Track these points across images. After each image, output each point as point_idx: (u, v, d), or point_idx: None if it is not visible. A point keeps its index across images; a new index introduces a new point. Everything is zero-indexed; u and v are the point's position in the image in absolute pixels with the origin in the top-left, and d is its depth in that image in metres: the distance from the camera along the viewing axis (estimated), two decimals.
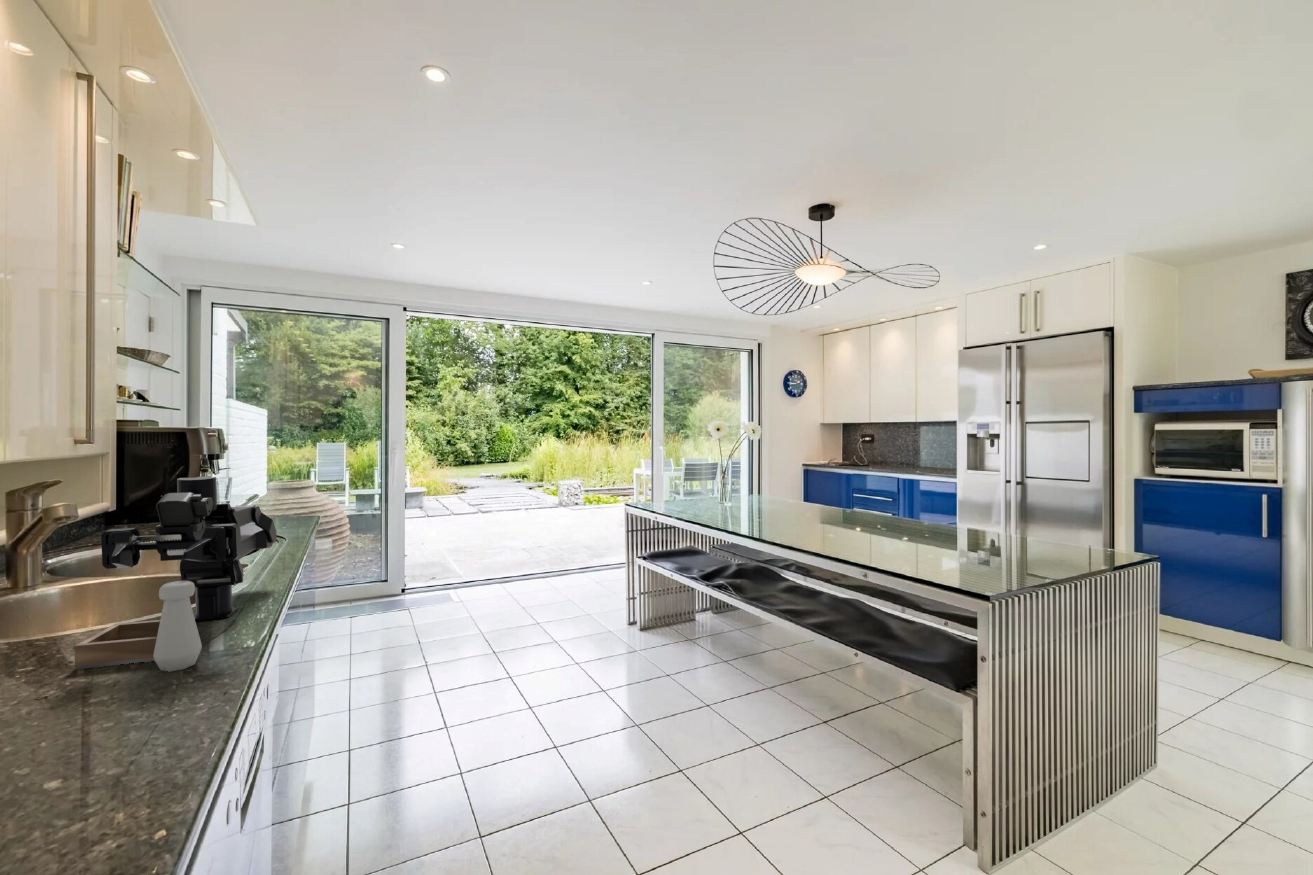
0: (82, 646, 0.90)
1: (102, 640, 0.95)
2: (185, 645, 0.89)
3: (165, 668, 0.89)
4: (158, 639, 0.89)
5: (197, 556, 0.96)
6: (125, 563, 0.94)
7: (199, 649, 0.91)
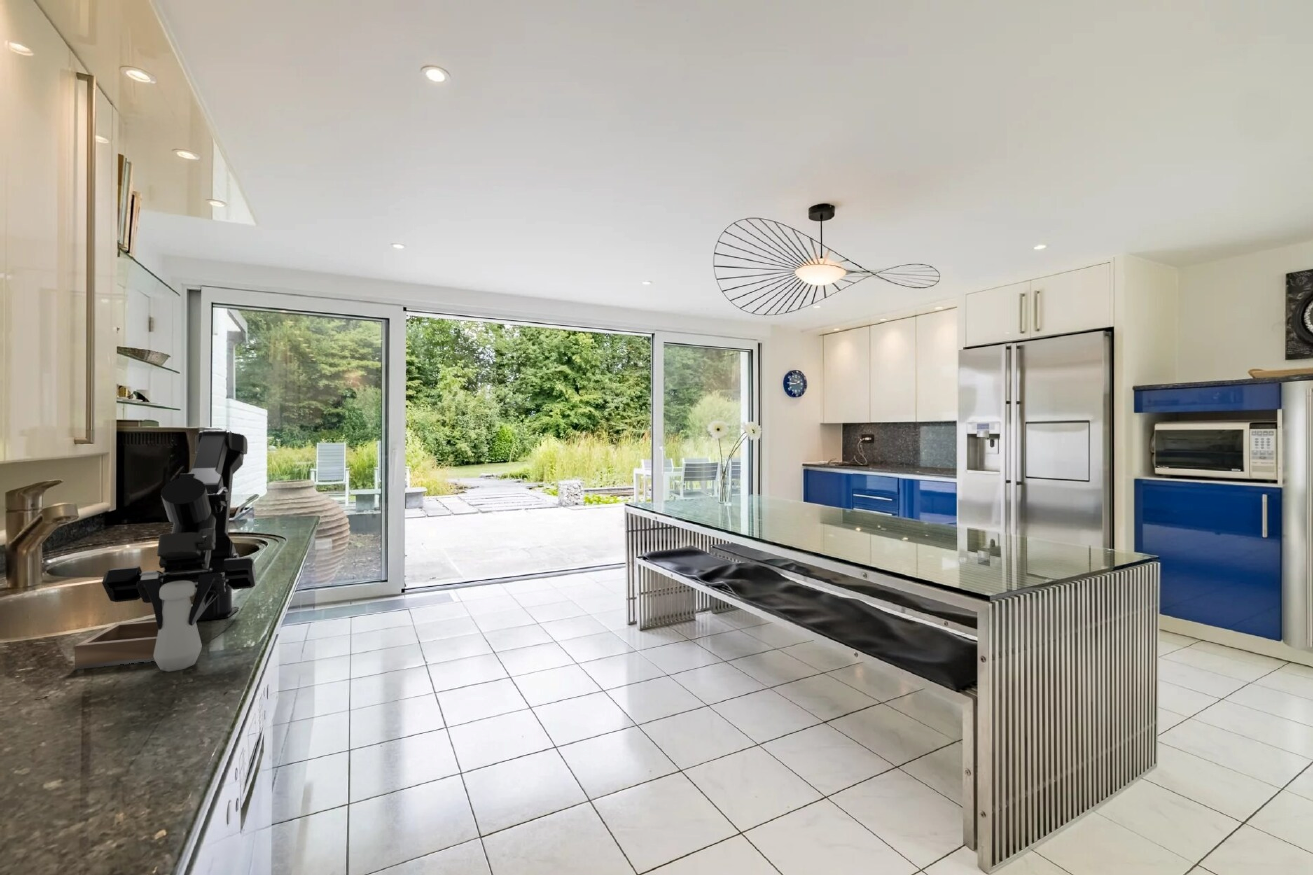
0: (82, 646, 0.90)
1: (102, 640, 0.95)
2: (185, 645, 0.89)
3: (165, 668, 0.89)
4: (158, 639, 0.89)
5: (200, 611, 0.93)
6: None
7: (199, 649, 0.91)
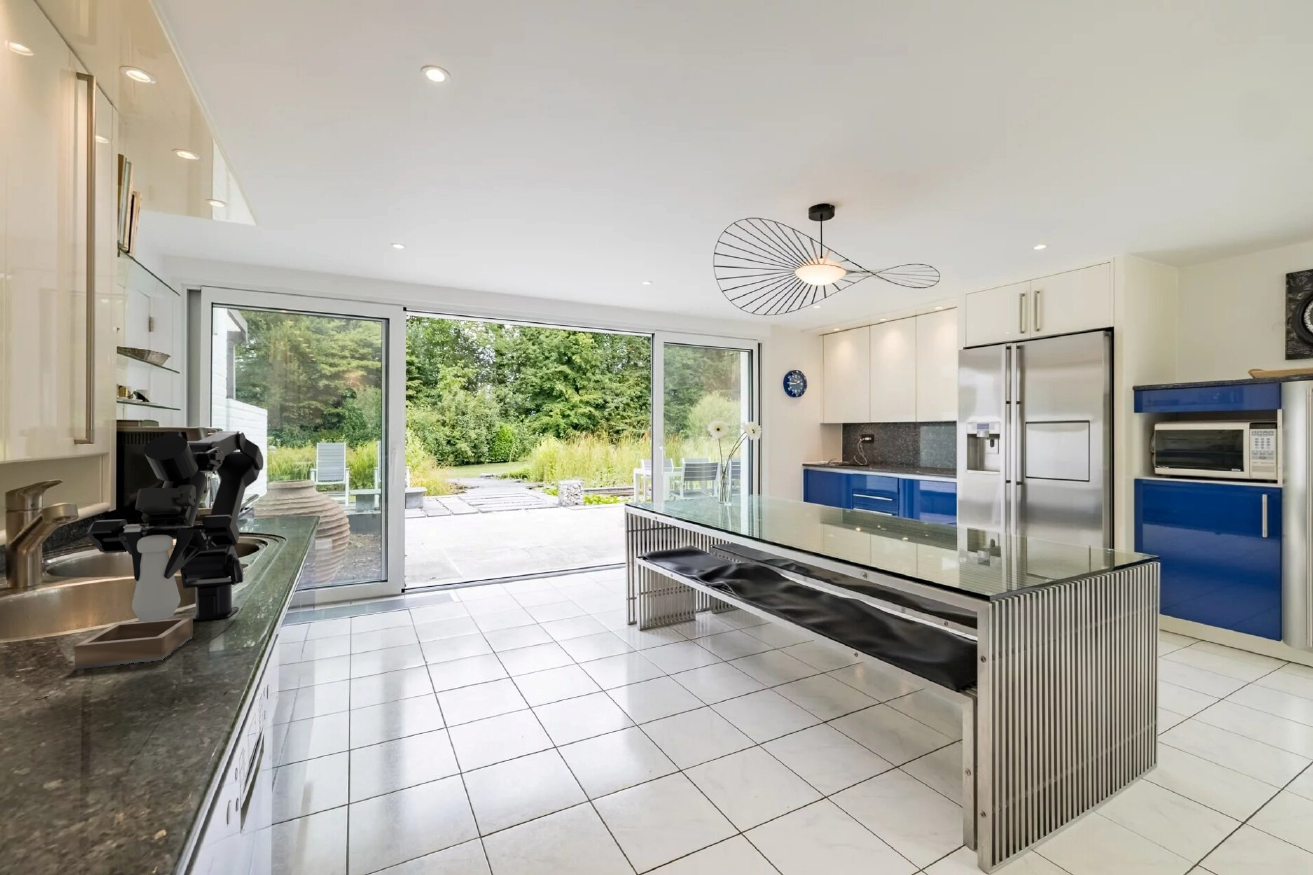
0: (82, 646, 0.90)
1: (102, 640, 0.95)
2: (160, 598, 0.91)
3: (142, 619, 0.91)
4: (136, 590, 0.91)
5: (178, 565, 0.94)
6: None
7: (176, 602, 0.93)
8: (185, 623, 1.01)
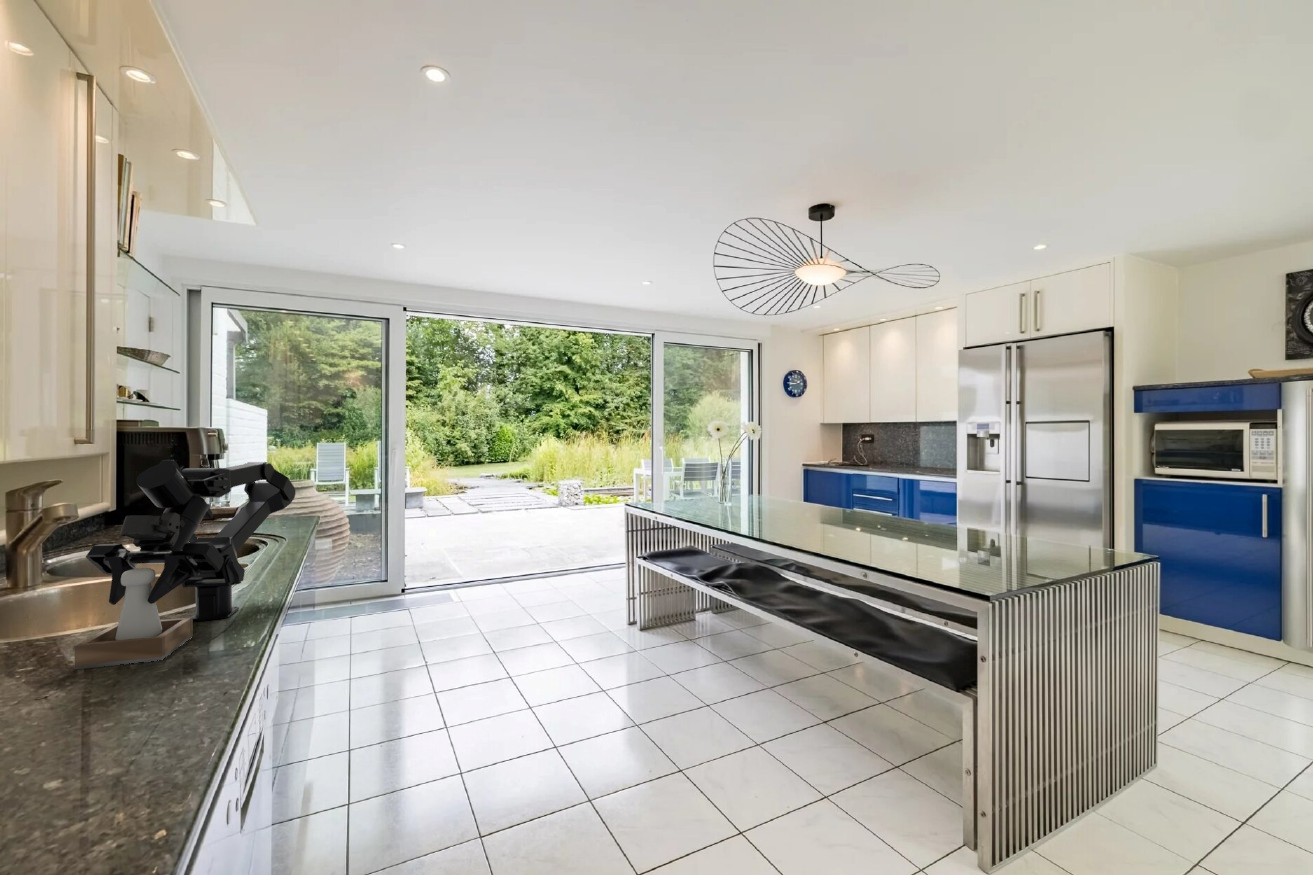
0: (82, 646, 0.90)
1: (102, 640, 0.95)
2: (137, 630, 0.94)
3: None
4: (119, 621, 0.95)
5: (165, 590, 0.98)
6: None
7: (154, 634, 0.96)
8: (185, 623, 1.01)
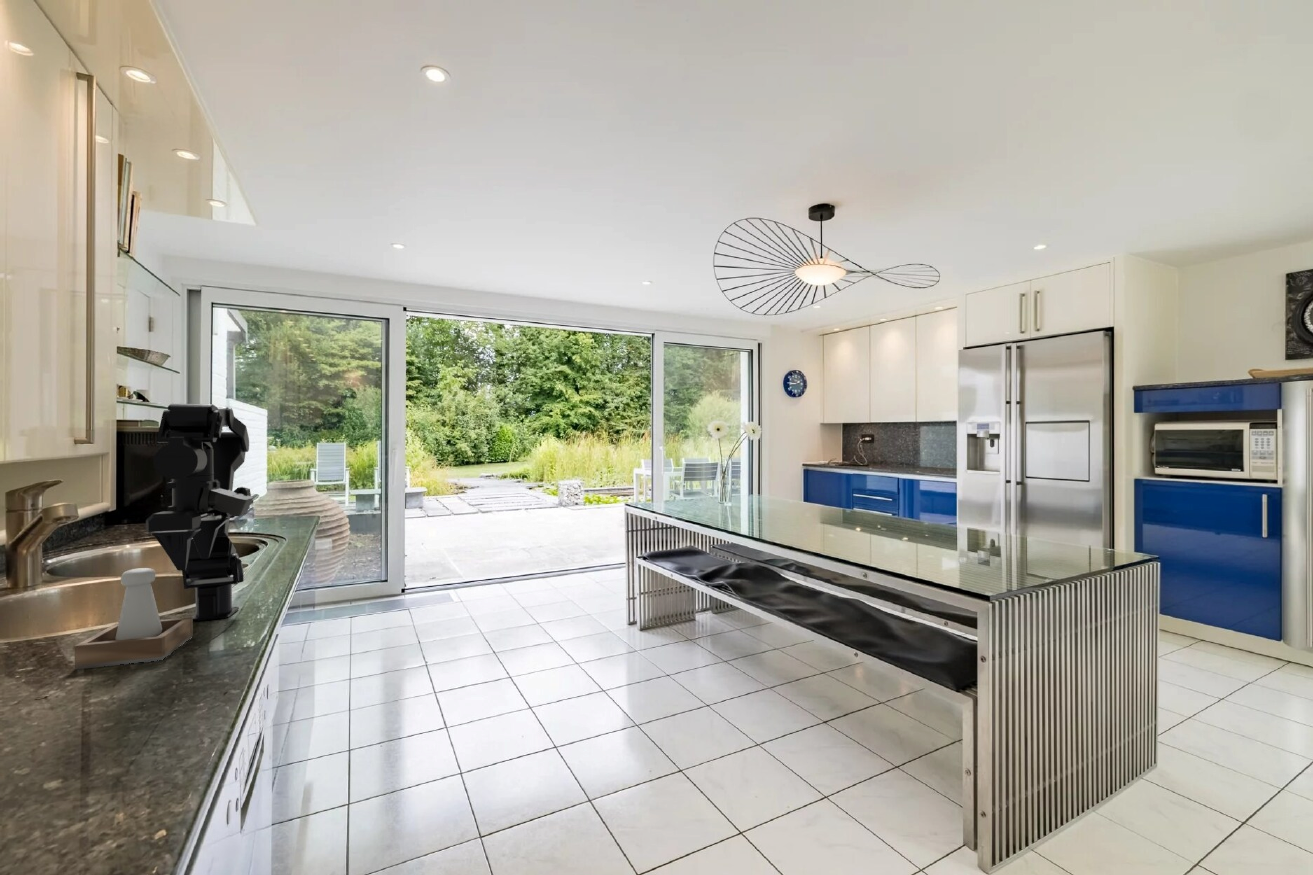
0: (82, 646, 0.90)
1: (102, 640, 0.95)
2: (137, 629, 0.95)
3: None
4: (119, 621, 0.95)
5: None
6: None
7: (154, 634, 0.96)
8: (185, 623, 1.01)
